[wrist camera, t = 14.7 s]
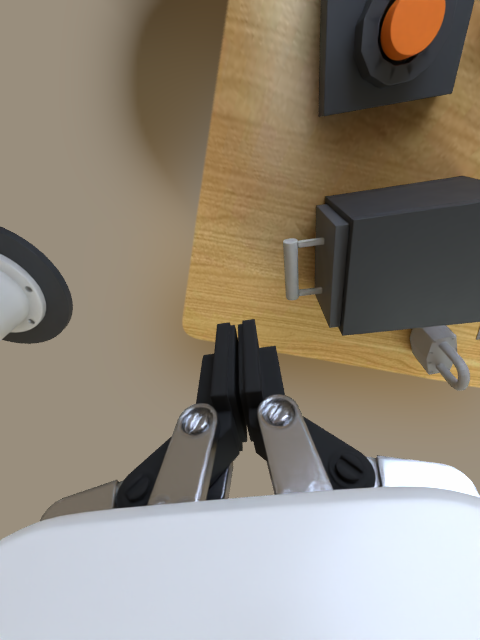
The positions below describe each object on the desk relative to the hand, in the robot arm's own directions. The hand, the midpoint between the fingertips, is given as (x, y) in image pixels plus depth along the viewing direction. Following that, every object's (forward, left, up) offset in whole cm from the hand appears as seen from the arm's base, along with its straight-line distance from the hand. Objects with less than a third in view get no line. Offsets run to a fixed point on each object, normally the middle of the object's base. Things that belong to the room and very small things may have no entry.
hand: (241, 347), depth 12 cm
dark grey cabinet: (+14, +11, -24) cm, 30 cm away
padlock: (+32, +10, -24) cm, 41 cm away
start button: (-3, +18, -20) cm, 27 cm away
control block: (-3, +18, -24) cm, 30 cm away
